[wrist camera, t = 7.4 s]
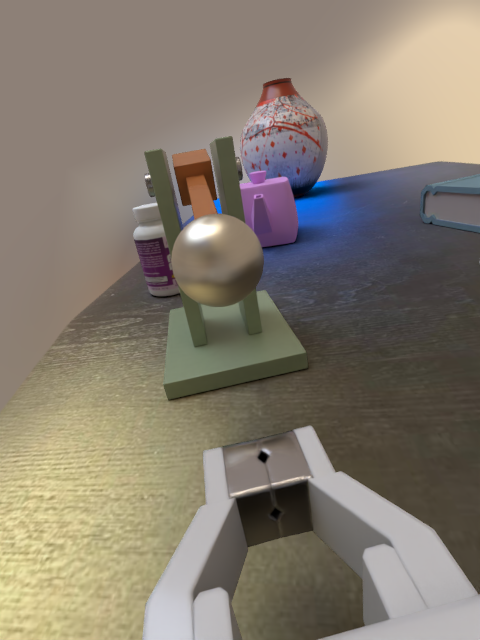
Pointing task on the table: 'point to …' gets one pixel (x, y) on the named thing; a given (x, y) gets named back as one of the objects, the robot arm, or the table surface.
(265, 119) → the vase
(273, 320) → the bracket
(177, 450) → the table surface
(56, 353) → the table surface
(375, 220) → the table surface
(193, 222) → the lever
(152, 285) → the pill bottle
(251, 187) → the teapot
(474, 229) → the book
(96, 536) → the table surface
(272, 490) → the robot arm
